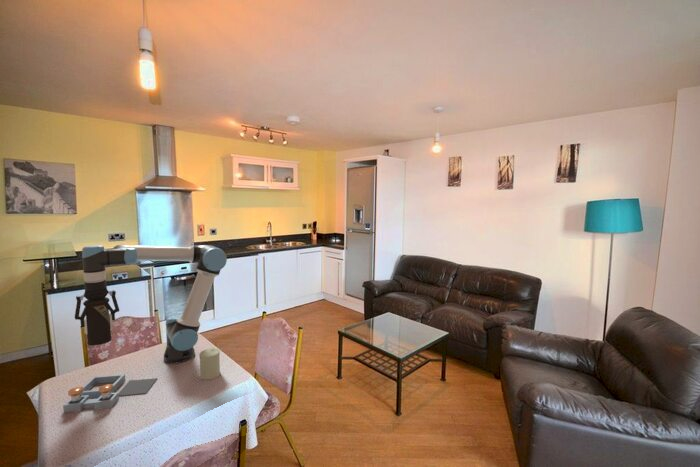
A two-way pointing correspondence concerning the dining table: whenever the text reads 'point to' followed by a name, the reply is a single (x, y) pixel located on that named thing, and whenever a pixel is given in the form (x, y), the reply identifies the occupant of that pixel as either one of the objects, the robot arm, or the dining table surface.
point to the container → (98, 321)
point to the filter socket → (102, 379)
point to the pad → (137, 387)
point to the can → (209, 364)
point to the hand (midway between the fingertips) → (98, 330)
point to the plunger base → (90, 403)
